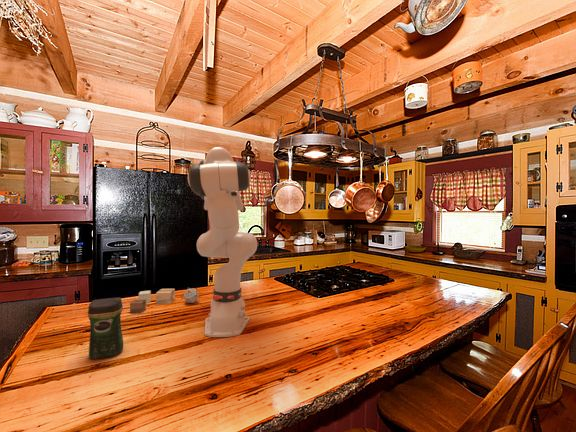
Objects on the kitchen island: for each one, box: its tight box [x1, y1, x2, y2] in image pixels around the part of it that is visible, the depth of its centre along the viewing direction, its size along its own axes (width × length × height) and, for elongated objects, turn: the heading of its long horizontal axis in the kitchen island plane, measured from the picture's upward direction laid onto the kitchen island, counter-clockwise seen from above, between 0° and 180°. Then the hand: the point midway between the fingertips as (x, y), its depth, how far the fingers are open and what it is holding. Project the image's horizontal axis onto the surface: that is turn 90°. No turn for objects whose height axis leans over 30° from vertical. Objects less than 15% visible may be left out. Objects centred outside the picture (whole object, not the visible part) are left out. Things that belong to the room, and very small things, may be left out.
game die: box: [182, 286, 201, 305], centre depth 140 cm, size 9×8×10 cm
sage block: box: [138, 290, 152, 304], centre depth 142 cm, size 5×5×5 cm
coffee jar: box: [87, 296, 124, 360], centre depth 91 cm, size 10×8×19 cm
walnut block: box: [129, 299, 147, 314], centre depth 128 cm, size 5×5×5 cm
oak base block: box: [155, 288, 176, 305], centre depth 142 cm, size 7×7×6 cm
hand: (223, 218), depth 145 cm, fingers open, 8 cm apart
